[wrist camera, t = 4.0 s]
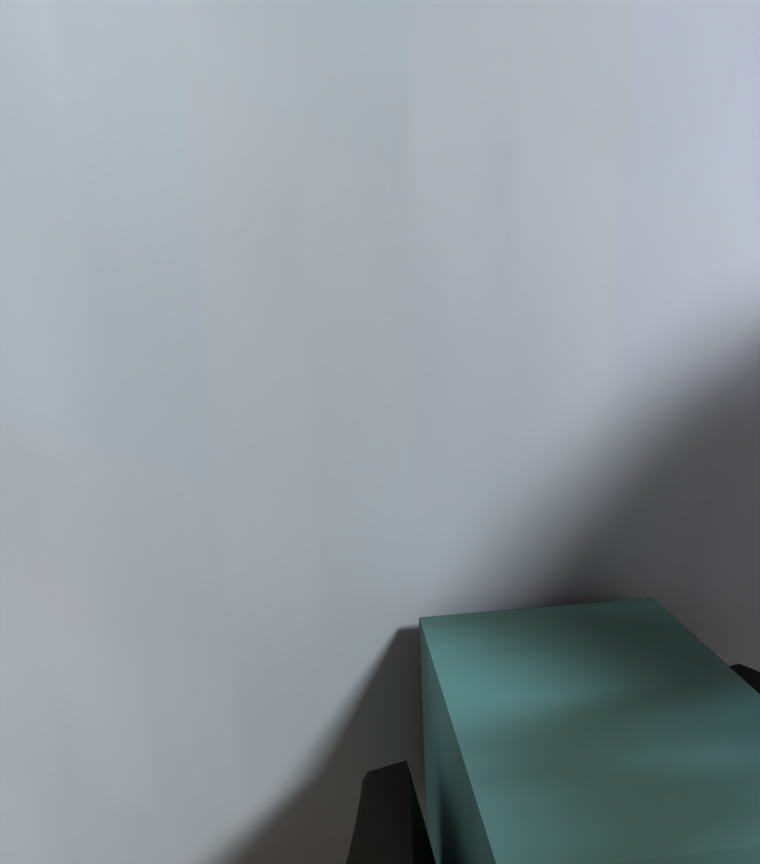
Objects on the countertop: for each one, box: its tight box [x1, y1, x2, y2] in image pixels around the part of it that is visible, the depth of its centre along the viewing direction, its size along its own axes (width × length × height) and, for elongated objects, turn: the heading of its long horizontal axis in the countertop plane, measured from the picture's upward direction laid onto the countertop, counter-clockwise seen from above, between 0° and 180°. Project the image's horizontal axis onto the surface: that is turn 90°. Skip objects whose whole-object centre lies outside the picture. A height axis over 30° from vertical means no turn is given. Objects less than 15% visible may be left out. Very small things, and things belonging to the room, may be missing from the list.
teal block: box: [419, 598, 760, 864], centre depth 9 cm, size 4×4×5 cm
